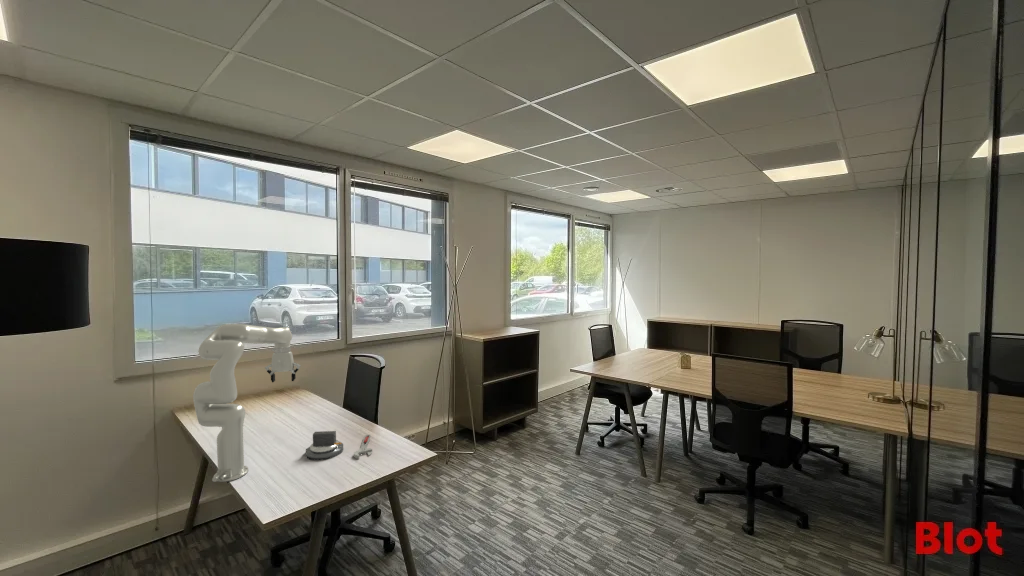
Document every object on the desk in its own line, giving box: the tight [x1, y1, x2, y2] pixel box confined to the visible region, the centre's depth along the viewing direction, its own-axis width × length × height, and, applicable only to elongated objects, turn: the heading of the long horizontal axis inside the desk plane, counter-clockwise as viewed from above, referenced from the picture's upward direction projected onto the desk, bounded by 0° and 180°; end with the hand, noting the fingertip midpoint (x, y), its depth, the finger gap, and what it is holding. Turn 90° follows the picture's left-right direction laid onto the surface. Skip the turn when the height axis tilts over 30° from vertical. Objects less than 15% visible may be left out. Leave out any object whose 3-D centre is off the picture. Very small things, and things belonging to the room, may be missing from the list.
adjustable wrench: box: [353, 434, 373, 459], centre depth 203 cm, size 8×26×2 cm, turn 6°
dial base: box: [305, 441, 344, 461], centre depth 197 cm, size 17×17×2 cm
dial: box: [309, 430, 343, 453], centre depth 197 cm, size 14×13×8 cm
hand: (283, 381), depth 217 cm, fingers open, 9 cm apart
